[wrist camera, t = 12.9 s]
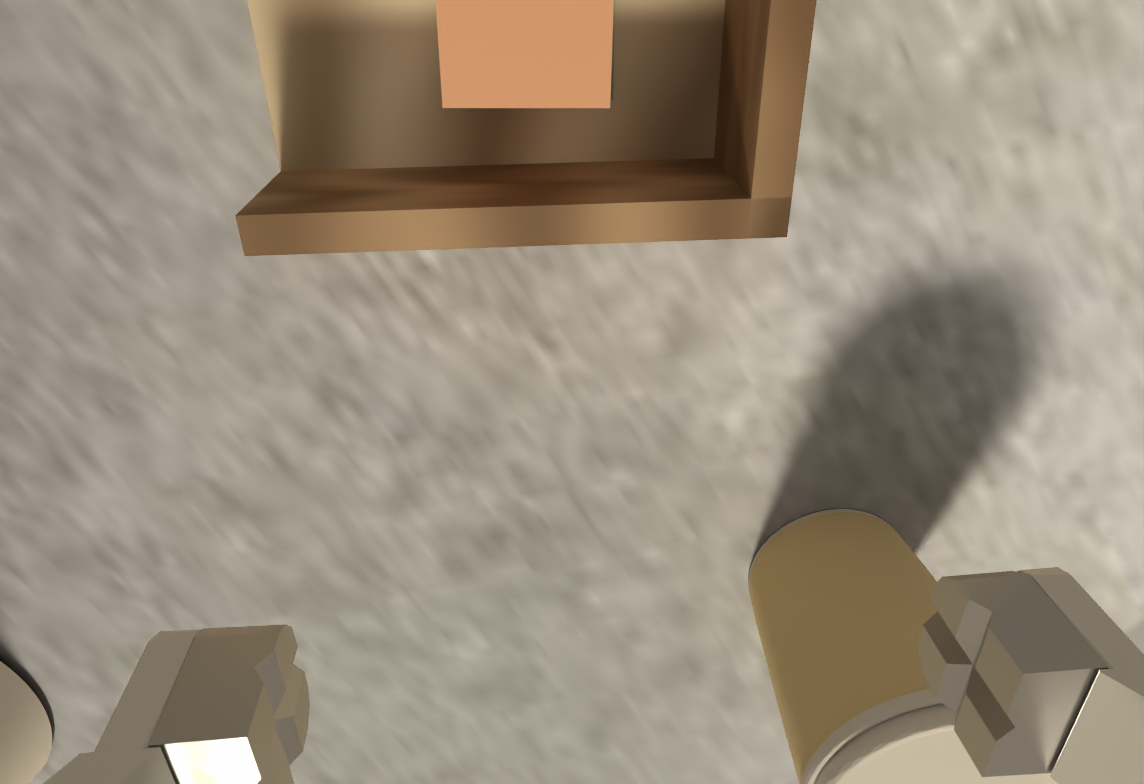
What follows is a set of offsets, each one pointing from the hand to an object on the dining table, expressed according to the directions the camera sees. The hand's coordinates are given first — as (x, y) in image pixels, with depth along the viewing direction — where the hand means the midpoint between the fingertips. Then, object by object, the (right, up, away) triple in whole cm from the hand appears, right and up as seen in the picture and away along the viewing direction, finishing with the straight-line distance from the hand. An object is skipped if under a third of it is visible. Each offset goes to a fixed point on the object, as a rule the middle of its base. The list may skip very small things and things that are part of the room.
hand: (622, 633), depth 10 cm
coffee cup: (+12, -6, +29) cm, 31 cm away
